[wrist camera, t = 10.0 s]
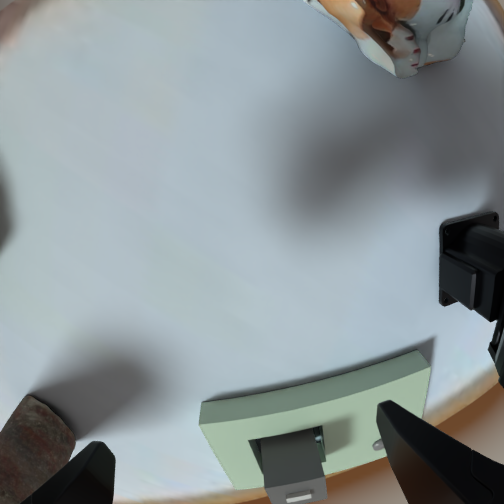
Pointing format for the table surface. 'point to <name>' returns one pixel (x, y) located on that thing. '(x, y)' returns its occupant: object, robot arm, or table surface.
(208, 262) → the table surface
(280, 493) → the block
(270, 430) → the socket box
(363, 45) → the lucky cat figurine
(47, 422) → the brown cylinder
